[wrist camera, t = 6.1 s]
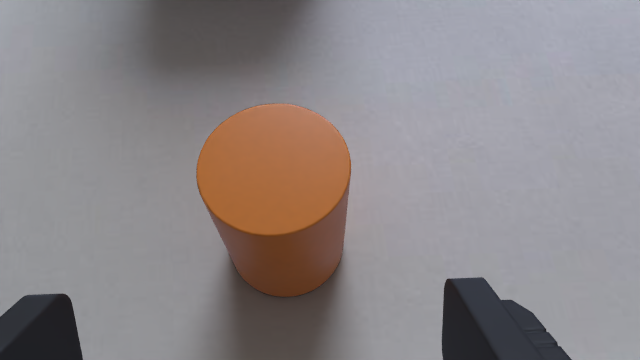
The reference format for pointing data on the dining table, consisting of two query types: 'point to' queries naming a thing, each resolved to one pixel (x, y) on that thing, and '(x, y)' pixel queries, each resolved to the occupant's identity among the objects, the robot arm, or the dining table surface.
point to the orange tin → (278, 195)
